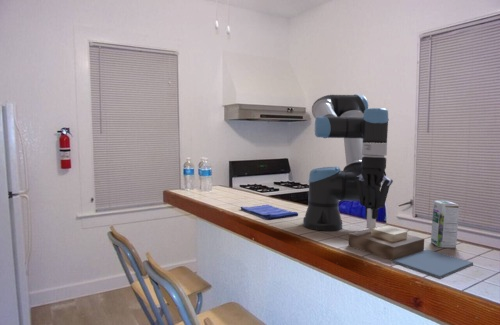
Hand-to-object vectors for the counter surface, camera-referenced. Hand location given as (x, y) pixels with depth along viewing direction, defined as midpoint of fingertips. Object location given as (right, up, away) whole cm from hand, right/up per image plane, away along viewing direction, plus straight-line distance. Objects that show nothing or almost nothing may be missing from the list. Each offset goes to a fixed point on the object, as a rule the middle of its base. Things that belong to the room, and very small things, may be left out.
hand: (371, 227), depth 112 cm
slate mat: (+12, -7, -16) cm, 21 cm away
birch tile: (+4, -2, -5) cm, 7 cm away
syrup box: (+24, -6, +1) cm, 25 cm away
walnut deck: (+3, -6, -4) cm, 8 cm away
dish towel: (-31, -2, +45) cm, 55 cm away
